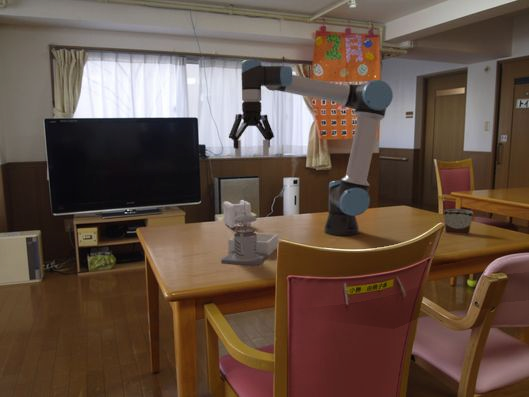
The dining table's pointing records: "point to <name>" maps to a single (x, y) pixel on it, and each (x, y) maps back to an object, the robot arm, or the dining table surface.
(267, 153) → the robot arm
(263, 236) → the white open storage bin
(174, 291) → the dining table surface
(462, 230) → the food container
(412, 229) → the dining table surface
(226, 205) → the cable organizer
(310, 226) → the dining table surface
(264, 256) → the rubber mat
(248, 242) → the french press
